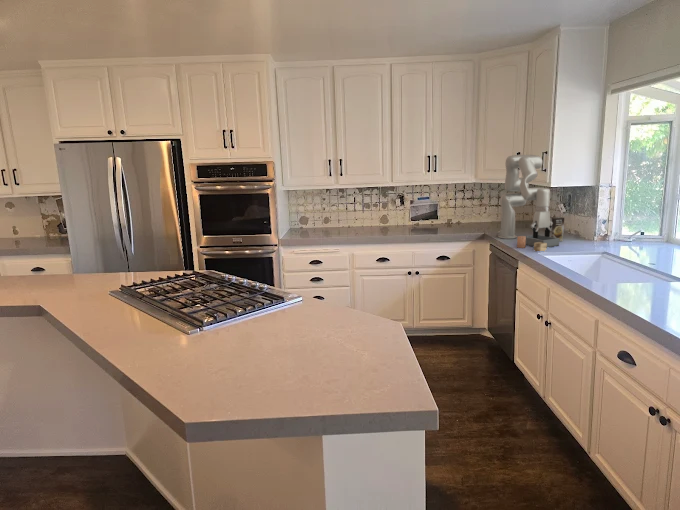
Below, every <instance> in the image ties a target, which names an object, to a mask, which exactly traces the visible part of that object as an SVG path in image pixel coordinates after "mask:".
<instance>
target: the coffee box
mask: <svg viewBox="0 0 680 510" xmlns="http://www.w3.org/2000/svg"><path fill="white" fill-rule="evenodd" d="M550 221H551V222H553V224H552V227H551V230H550V237H555V238H559V243H560V242H563V241H564V231H565V229H564V228H565V217H561V216H553V217H551V216H550Z"/></svg>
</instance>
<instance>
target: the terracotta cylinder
mask: <svg viewBox="0 0 680 510" xmlns="http://www.w3.org/2000/svg"><path fill="white" fill-rule="evenodd" d="M516 236H517V238H516V241H517V242H516V248H518V249H526V246H527V245H526V236H527V235H516Z"/></svg>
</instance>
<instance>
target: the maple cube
mask: <svg viewBox="0 0 680 510" xmlns="http://www.w3.org/2000/svg"><path fill="white" fill-rule="evenodd" d="M547 249H548V248H547V243H543V242H537V243H534V247H533V251H534V250H535V251H534V252H537V251H544V252H546V251H547ZM545 250H546V251H545Z"/></svg>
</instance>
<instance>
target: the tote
mask: <svg viewBox="0 0 680 510" xmlns="http://www.w3.org/2000/svg"><path fill="white" fill-rule="evenodd" d="M525 236H526V245H525V246H528V245H529V246H528V247H533V246H534V243H537V242H543V243H547V247H549V248H554V246H556V247H560V242H559V238H555V237H546V236H545V235H542V234H538V238H533V234H530V235H525Z"/></svg>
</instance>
